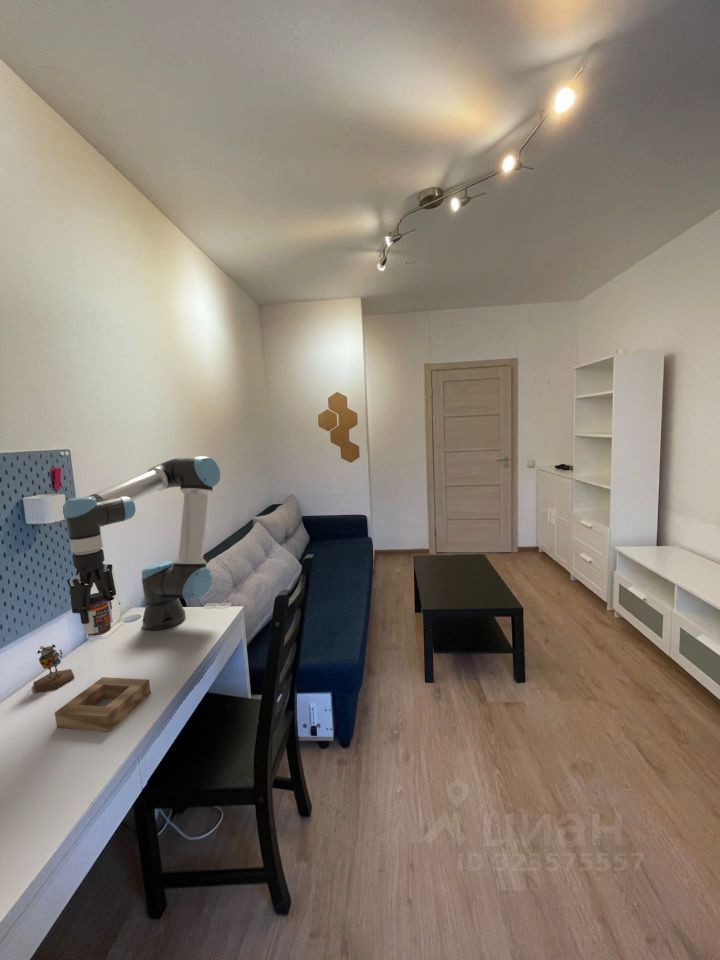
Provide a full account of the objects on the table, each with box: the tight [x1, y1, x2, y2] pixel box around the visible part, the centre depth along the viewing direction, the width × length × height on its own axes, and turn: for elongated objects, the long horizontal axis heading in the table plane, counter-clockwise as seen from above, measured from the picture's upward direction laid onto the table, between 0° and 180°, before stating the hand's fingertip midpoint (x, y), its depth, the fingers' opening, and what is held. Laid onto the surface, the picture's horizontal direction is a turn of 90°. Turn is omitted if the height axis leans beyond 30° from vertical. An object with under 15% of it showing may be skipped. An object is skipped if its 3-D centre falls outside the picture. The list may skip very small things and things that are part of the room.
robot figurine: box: [33, 644, 75, 694], centre depth 123 cm, size 11×9×12 cm
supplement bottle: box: [87, 592, 112, 637], centre depth 120 cm, size 6×6×11 cm
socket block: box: [54, 676, 152, 733], centre depth 109 cm, size 15×15×4 cm
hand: (99, 627), depth 121 cm, fingers closed on supplement bottle, 6 cm apart
